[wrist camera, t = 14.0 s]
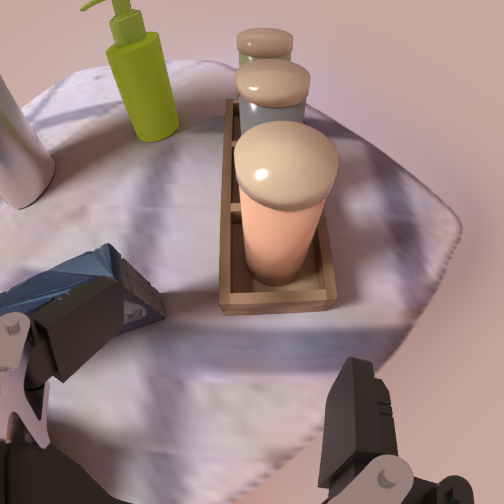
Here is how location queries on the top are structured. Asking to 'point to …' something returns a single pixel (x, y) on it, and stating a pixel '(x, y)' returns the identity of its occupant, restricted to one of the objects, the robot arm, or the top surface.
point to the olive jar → (264, 45)
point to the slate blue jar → (271, 92)
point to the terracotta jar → (282, 195)
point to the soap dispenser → (140, 74)
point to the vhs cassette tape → (82, 272)
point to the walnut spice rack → (234, 259)
